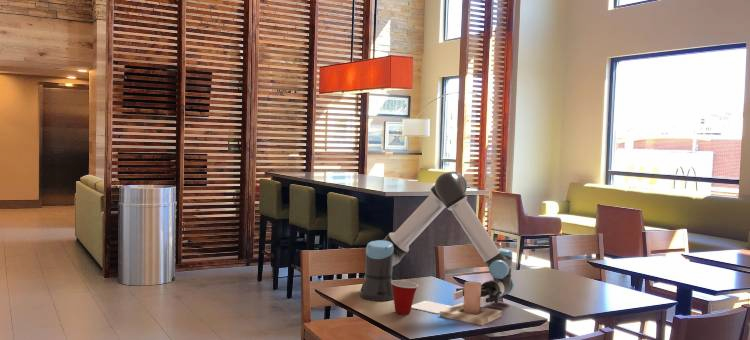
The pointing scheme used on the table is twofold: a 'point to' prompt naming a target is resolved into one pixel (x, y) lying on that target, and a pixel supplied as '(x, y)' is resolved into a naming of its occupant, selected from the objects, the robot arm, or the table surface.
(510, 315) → the table surface
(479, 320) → the socket board
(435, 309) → the off-white pad
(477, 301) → the terracotta canister
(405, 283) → the plastic cup
